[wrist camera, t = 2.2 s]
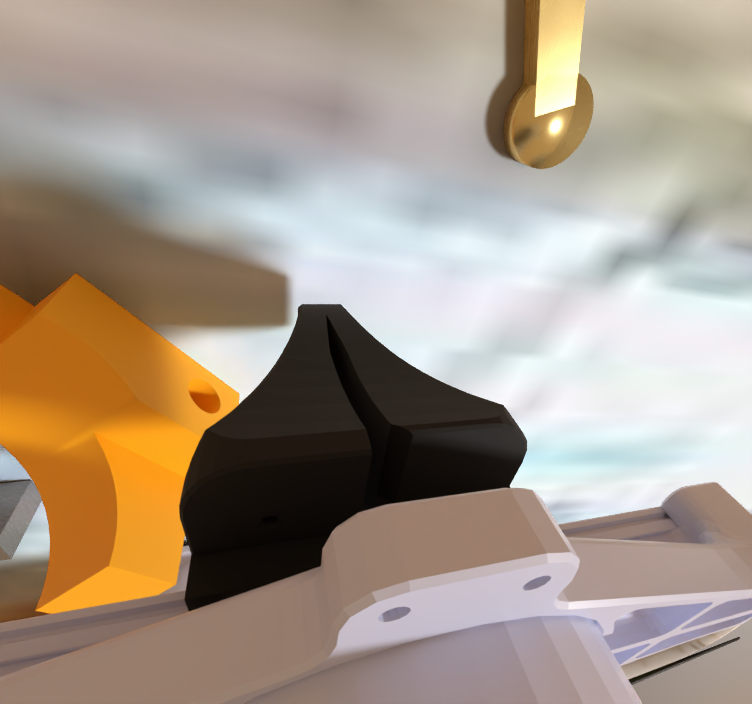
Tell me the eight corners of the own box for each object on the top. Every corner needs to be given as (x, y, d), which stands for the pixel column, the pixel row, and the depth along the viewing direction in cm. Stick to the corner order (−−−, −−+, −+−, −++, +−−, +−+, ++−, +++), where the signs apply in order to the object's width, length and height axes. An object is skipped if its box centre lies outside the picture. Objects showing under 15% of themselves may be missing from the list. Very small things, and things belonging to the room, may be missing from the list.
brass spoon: (570, 151, 12) (586, 156, 12) (501, 172, 12) (513, 178, 11) (604, -177, 8) (633, -197, 7) (500, -149, 8) (519, -167, 7)
